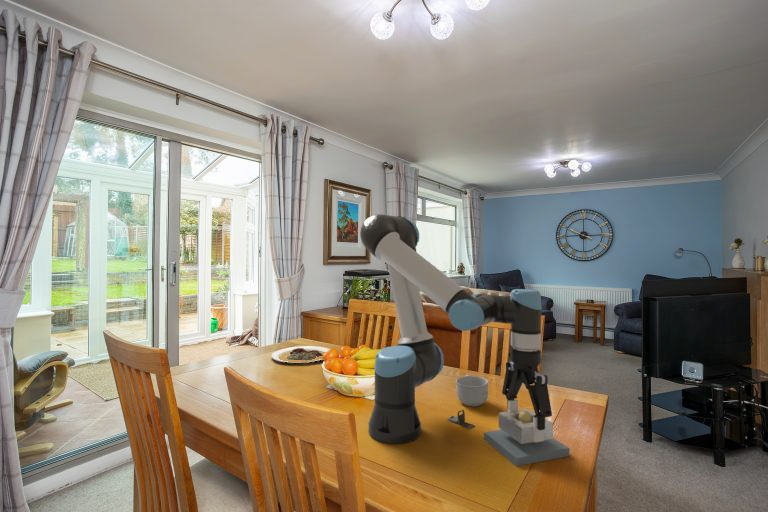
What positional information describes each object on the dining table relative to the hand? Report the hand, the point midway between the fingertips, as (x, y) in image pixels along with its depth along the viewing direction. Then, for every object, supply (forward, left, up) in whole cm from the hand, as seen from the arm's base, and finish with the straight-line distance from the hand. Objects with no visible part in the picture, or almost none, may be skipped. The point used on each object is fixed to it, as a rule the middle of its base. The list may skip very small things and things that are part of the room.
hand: (524, 431), depth 101 cm
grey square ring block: (0, 0, 0) cm, 0 cm away
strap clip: (-9, +18, -5) cm, 21 cm away
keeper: (0, 0, -4) cm, 4 cm away
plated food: (-47, +107, -5) cm, 117 cm away
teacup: (+3, +32, -4) cm, 32 cm away
